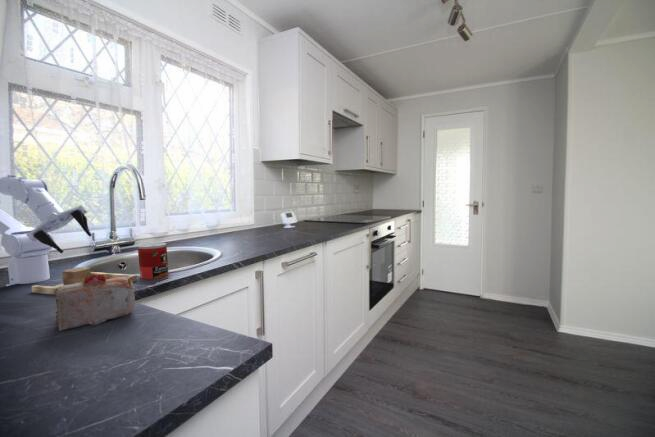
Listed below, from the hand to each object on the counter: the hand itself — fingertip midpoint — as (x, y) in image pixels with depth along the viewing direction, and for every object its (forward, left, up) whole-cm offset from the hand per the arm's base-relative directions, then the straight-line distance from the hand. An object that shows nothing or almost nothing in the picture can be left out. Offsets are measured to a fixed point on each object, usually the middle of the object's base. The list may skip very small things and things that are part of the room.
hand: (75, 242), depth 89 cm
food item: (+26, -15, -14) cm, 33 cm away
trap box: (+3, 0, -13) cm, 14 cm away
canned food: (+14, +13, -14) cm, 23 cm away
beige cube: (0, 0, -12) cm, 12 cm away
